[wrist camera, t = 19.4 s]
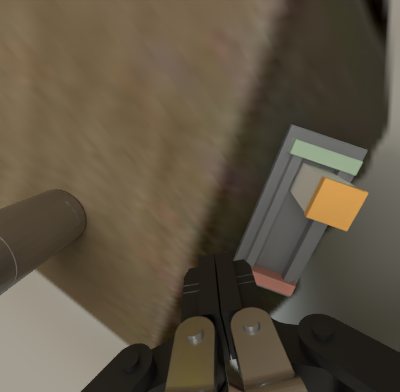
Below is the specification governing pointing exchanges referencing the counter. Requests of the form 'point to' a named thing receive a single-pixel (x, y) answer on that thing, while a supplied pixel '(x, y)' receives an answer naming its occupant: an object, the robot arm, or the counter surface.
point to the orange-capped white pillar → (326, 196)
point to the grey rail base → (291, 209)
